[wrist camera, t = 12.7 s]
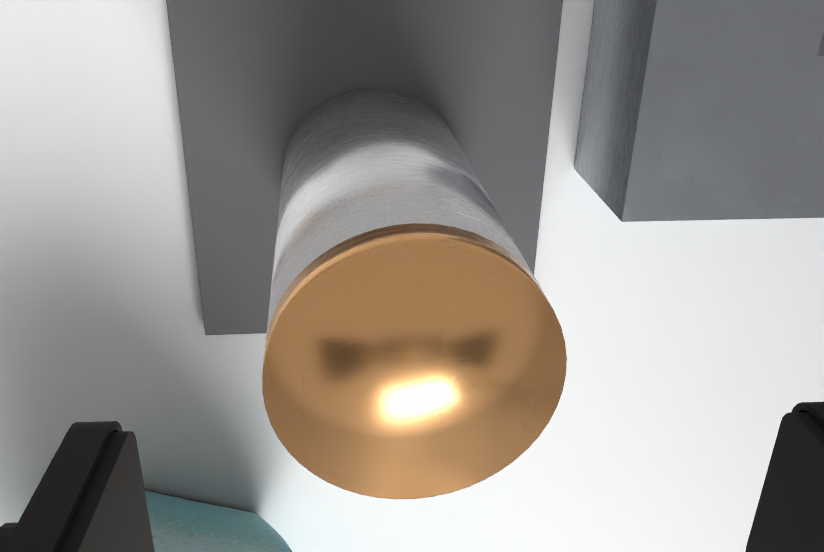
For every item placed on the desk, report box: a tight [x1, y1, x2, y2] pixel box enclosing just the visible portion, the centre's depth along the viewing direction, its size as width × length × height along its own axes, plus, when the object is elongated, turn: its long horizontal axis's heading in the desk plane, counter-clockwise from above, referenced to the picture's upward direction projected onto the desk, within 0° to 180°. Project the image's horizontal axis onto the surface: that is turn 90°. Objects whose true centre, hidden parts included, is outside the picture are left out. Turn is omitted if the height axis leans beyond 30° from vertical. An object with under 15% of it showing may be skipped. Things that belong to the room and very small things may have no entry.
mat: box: [166, 0, 563, 335], centre depth 21 cm, size 10×10×1 cm
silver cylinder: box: [263, 87, 567, 499], centre depth 17 cm, size 5×5×10 cm
